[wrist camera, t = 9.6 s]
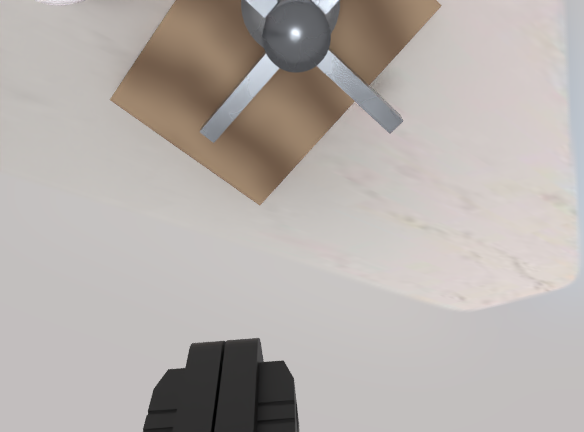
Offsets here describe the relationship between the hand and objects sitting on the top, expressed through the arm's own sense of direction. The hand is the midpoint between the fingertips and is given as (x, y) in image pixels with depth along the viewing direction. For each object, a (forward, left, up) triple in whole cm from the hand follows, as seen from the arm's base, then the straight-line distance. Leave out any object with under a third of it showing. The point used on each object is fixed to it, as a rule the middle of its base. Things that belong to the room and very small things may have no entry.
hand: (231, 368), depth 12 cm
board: (0, 0, -31) cm, 31 cm away
